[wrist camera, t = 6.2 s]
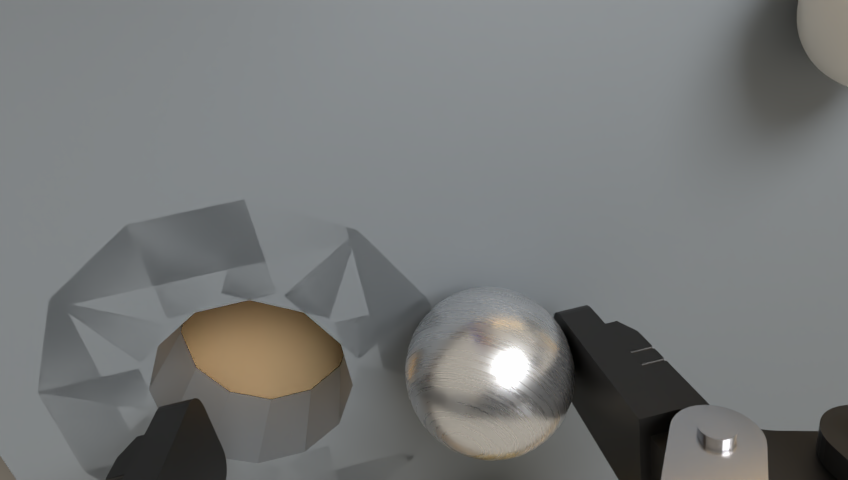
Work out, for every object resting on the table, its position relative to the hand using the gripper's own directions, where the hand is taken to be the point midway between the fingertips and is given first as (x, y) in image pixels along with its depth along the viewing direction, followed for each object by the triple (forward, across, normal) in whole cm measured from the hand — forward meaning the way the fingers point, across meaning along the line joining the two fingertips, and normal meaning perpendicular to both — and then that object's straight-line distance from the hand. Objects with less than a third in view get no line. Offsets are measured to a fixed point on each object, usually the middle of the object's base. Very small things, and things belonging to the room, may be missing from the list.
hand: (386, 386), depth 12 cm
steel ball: (-1, -2, 0) cm, 2 cm away
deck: (+4, -3, 0) cm, 5 cm away
